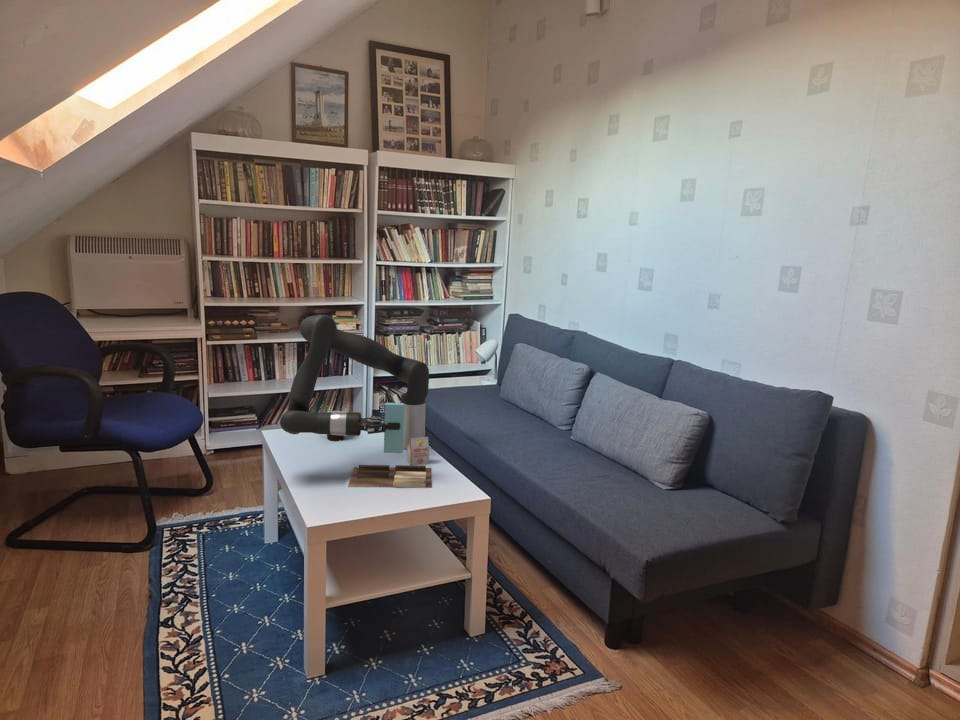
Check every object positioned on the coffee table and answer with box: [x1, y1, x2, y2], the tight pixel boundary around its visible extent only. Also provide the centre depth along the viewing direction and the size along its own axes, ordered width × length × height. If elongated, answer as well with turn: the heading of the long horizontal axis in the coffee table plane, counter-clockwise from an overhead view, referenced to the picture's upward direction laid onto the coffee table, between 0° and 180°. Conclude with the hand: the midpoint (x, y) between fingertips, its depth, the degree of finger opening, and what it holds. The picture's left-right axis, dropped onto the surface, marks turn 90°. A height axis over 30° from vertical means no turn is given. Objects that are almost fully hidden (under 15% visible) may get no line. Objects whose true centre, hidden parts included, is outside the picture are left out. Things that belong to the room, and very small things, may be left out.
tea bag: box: [406, 436, 430, 466], centre depth 219 cm, size 4×7×10 cm, turn 115°
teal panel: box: [383, 402, 404, 454], centre depth 204 cm, size 2×6×16 cm, turn 95°
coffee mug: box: [326, 410, 345, 442], centre depth 245 cm, size 12×9×10 cm
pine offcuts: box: [392, 471, 426, 488], centre depth 199 cm, size 6×10×3 cm, turn 95°
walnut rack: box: [347, 464, 433, 489], centre depth 205 cm, size 18×26×3 cm
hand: (399, 425), depth 204 cm, fingers closed on teal panel, 2 cm apart
